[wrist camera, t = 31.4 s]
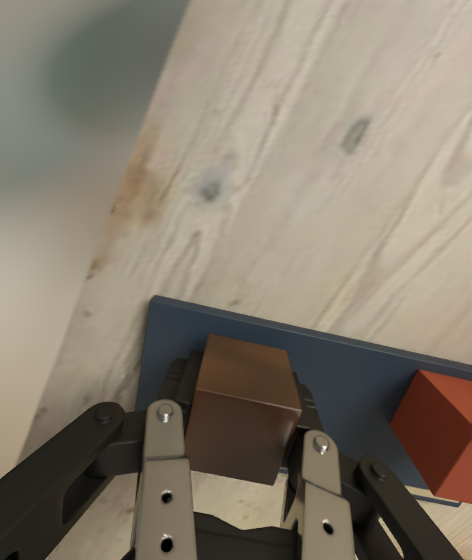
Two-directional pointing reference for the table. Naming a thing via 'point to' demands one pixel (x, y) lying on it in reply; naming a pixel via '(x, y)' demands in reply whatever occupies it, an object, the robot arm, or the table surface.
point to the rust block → (438, 432)
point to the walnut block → (242, 411)
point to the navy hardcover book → (307, 376)
